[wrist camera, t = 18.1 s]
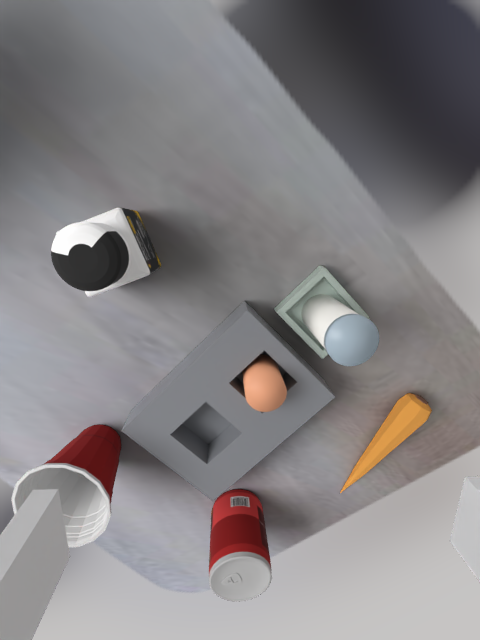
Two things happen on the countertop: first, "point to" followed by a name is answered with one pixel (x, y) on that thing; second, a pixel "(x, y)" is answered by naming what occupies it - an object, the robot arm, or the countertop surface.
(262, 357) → the plunger
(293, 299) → the tray
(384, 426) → the carrot
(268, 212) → the countertop surface
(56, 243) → the medicine bottle
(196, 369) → the housing
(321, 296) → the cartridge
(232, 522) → the canned food
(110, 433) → the plastic cup
